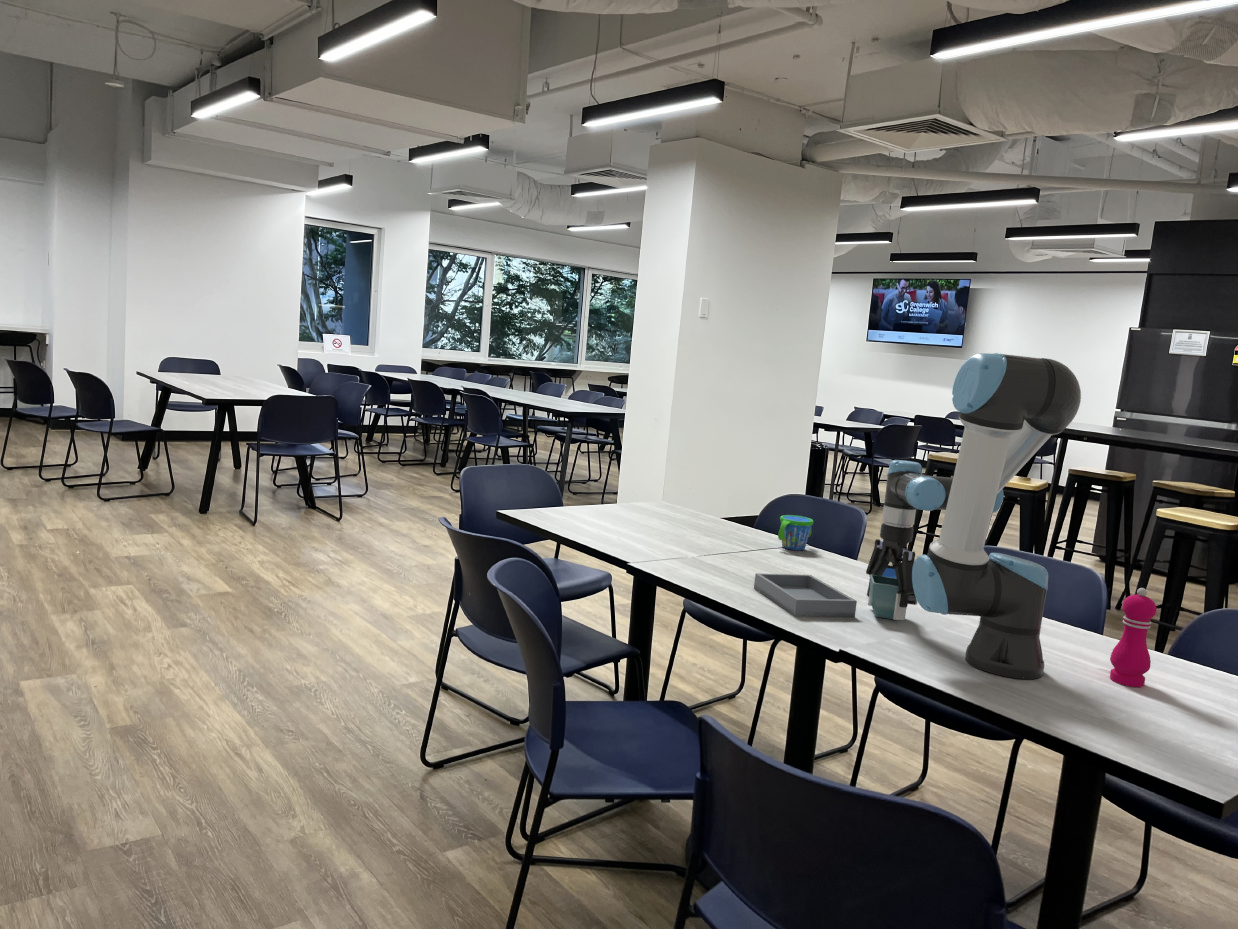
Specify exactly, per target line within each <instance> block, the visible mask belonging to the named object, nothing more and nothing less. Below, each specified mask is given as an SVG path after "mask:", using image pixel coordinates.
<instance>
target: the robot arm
mask: <svg viewBox="0 0 1238 929" xmlns="http://www.w3.org/2000/svg"><path fill="white" fill-rule="evenodd" d="M951 394H952V396H953V397H952V398H951V400H952V404H953V405H952V406H953V407H954V409H955V410H956V411H958V412H959V415H958V420H959V421H960V422H961V423H962V424H961V425H963V426H964V428H963V434H962V439H961V444H960V447H959V451H958V456H957V461H956V464H955V469H954V473H953V477H947V476H945V477H944V476H937V475H936V476H933V475H924V474H923V472H922V468H923V467H922V465H921V463H919V462H916V461H910V460H900V459H894V460H892V461H890V463H889V465H888V466H889V467H888V472H887V473H886V487H885V495H884V496H885V497H884V501H883V502H884V503H883V508H882V517H881V520H882V523H880V531H879V536H880V538H881V539H879V538H878V539H874V545H873V549H872V550H873V551H872V553H871V556H870V559H869V560H868V561H869V562H868V565H867V568H866V571H865V573H866V575H868V576H870V575H878V576H882V575H883V573H884V571H885V569H886V568H887V566H888V565H889V564H890V563H891V566H893V567H894V568H895V572H896V577H897V582H898V587H899V591H898V592H897V594H896V602H895V609H894V616H893V619H894V620H895V621H904V620H905V621H906V614H907V607H908V605H909V603H908V598H909V594H915V597H916V601H917V603H918V605H919V606H920V607H921V608H922V610H924V611H926V612H929V613H934V614H941V615H942V616H943V615H945V616H946V615H951V616H953V615H955V616H956V615H957V616H971V617H979V622H978V627H977V628H976V630H975V632H974V634H973V636H972V638H971V640H970V643H969V644H968V645H967V647H966V649H965V656H964V659H965V661H966V662H967V663H968V664H969V665H971V666H973V667H975V668H977V669H980V670H982V671H984V672H987V673H989V674H994V675H996V676H997V675H998V676H1001V677H1006V678H1012V679H1020V680H1035V679H1040V678H1042V677H1043V676H1044V670H1045V661H1044V659H1043V657H1044V656H1043V650H1042V644H1041V638H1040V634H1041V629H1042V623H1043V622H1042V621H1043V614H1044V611H1045V610H1044V609H1045V604H1046V597H1047V591H1048V590H1049V586H1048V585H1049V584H1048V583H1049V573H1048V570H1047V569H1046V568H1045V567H1044V566H1042V565H1041V564H1039V563H1036V562H1034V561H1032V560H1028V559H1024V558H1022V557H1017V556H1014V555H1010V554H1005V553H1001V552H990V554H989V555H988V553H987V551H985V549H984V548H985V544H986V540H987V537H988V532H989V527H990V524H991V520H992V516H993V514H994V513H996V512H998V511H1000V509H1001V507H1002V504H1003V501H1004V490H1003V489H1004V488H1005V486H1006V485H1007V484H1008V483H1009V482H1010V481H1012V480H1013V478H1014V477H1015V476H1016V475H1017V473H1019V471H1020V470H1021V469H1022V468H1023V467H1024V466H1025V465H1026V463H1028V462H1029V461H1030V460H1031V458H1032V457H1033V456H1034V455H1035V454H1036V453H1037V452H1039V450H1040V449H1041V447H1042V446H1044V445H1045V443H1046V442H1047V441H1048V440H1049V439H1050V438H1051V436H1052V437H1053V436H1055V435H1058V434H1060V433H1062V432H1063V431H1064V430H1065V429H1066V428H1067V427H1068V426H1069V425H1070V424H1071V423H1072V422H1073V420H1075V417H1076V416H1077V414H1078V411H1079V408H1080V405H1081V399H1082V391H1081V387H1080V383H1079V381H1078V378H1077V377H1076V375H1075V373H1074V372H1073V371H1072V370H1071V369H1070V368H1069V367H1068V366H1067V365H1065V364H1063V363H1062V362H1060V361H1058V360H1055V359H1051V358H1046V357H1041V358H1040V357H1031V356H1023V355H1015V354H1014V355H1013V354H1006V353H1005V354H1003V353H999V352H994V353H989V352H988V353H987V352H986V353H982V352H981V353H977V354H974V355H972V356H970V357H969V358H968V359H967V360H966V361H965V362H964V363H963V364H962V365H961V366H960V368H959V370H958V372H957V373H956V376H955V378H954V382H953V384H952V390H951ZM917 510H920V511H921V510H922V511H926V512H931V511H934V510H940V511H941V510H942V511H945V512H944V517H943V521H942V524H941V529H940V533H939V538H938V539H936V540H933V541H932V542H930V544H929V546H928V550H927V554H921V555H918V556H917V557H916V552H915V551H911V550H908V544H909V543H912V541H913V537H914V527H913V526H914V525H915V519H916V514H917V513H916V511H917ZM871 569H873V570H871ZM903 587H904V589H903ZM867 605H868V606H870V607H872V604H871V600H870V592H869V596H868V600H867ZM893 619H892V620H893Z"/></svg>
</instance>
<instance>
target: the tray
mask: <svg viewBox="0 0 1238 929" xmlns="http://www.w3.org/2000/svg"><path fill="white" fill-rule="evenodd" d="M753 589H755V591H757V592H759V593H760V594H762V595H763V596H765V597H766V598H767V599H769V600H770V601H772V602H773V603H774V604H776V605H778V607H780V608H782V609H783V610H785V611H786V612H788V613H789V614H791V615H793V616H794V617H819V618H821V617H824V618H825V617H827V618H829V617H830V618H832V617H834V618H835V617H836V618H837V617H838V618H839V617H841V618H855V617H856V610H857V603H858V602H857V601H858V600H856V599H854V598H852V596H849V595H847V594H845V593H843V592H842V591H841V590H838V589H836V588H834V587H833V586H832V585H829V584H827V582H825V581H822V580H821V579H819V578H817V577H815V576H814V575H812V574H796V573H795V574H794V573H793V574H792V573H761V572H759V573H758V572H757V573H756V572H755V575H754V584H753Z"/></svg>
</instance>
